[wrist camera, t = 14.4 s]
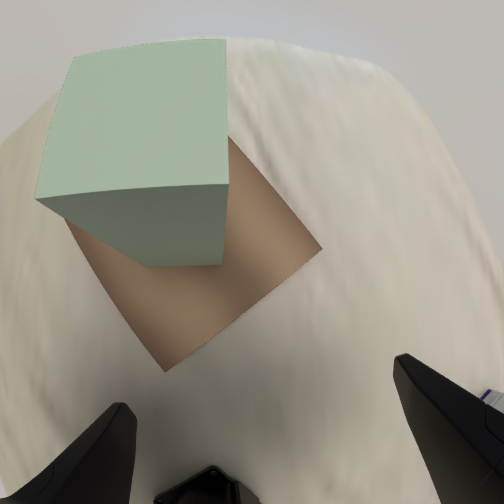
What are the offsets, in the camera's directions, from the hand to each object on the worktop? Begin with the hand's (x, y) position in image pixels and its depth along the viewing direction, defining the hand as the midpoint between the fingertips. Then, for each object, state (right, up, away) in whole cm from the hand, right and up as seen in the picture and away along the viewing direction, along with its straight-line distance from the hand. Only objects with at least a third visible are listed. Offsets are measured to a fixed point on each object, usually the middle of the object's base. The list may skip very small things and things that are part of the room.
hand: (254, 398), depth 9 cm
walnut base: (-4, +5, +12) cm, 14 cm away
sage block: (-4, +6, +9) cm, 12 cm away
